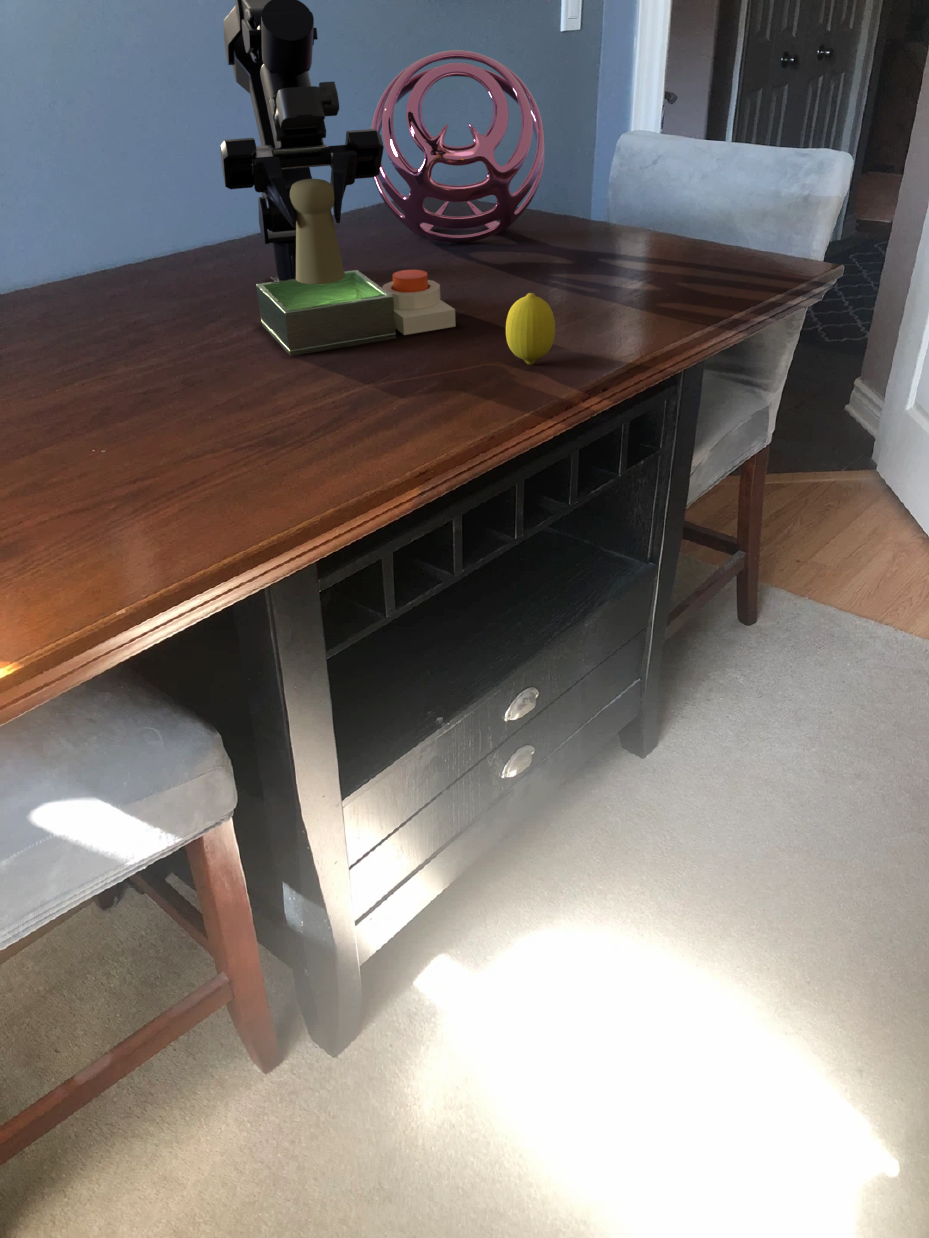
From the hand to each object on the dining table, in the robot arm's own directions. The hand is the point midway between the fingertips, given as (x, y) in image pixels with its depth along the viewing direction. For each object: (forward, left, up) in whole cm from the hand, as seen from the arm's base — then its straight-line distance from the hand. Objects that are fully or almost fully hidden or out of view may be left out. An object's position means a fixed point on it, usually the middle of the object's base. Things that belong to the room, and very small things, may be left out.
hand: (316, 223), depth 116 cm
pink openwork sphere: (-38, +34, -13) cm, 53 cm away
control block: (-1, +12, -13) cm, 18 cm away
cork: (-1, 0, -7) cm, 7 cm away
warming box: (-1, 0, -13) cm, 13 cm away
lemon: (+21, +17, -13) cm, 31 cm away
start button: (-1, +12, -10) cm, 15 cm away
